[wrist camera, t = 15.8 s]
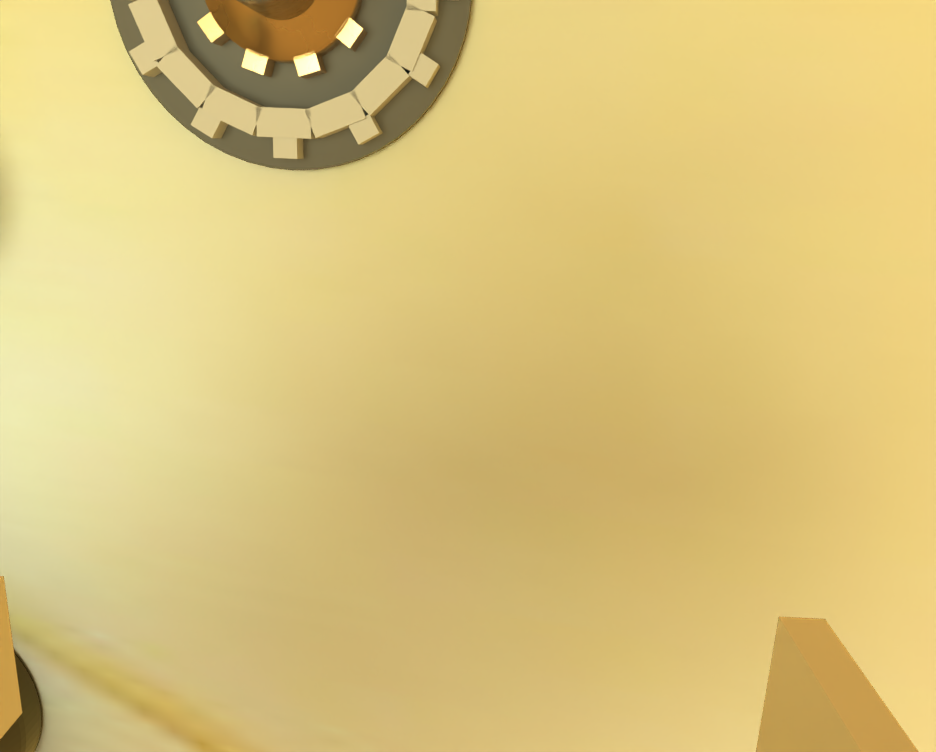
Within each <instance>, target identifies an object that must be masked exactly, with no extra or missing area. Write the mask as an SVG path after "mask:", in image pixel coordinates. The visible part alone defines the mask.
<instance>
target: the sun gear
mask: <svg viewBox="0 0 936 752" xmlns="http://www.w3.org/2000/svg"><path fill="white" fill-rule="evenodd" d="M205 2H206V5H207V7H208V9H209V11H210V12H209V13H208V14H207V15H206V16H204V17H203V18H202V19H201V20H199V21H198V24H199V25H200V27H201V28H202V30H203V31H204V33H205V34H206V35H207V37H208V38H209V40H210V41H211V43H214V44H217V45H219V46H223V45H224V44H225V43H227V42H228V41H229V40H230V39H231V40H232V41H233V42H235V43H236V44H237V45H239V46H240V47H241V48H243V49H245V50H246V52H245V56H244V60H243V63H242V67H244V68H246V69H249V70H252V71H254V72H257V73H259V74H262V75H265V76H268V77H272V73H273V70H274V66H275V63H276V62H279V63H288V64H291V63H295V65H296V68H297V71H298V75H299V77H302V78H305V79H308V78H311V77H314V76H317V75H321V74H324V73H326V69H325V66H324V63H323V59H322V56H323V55H325V54H327V53H328V52H330V51H331V50H333V49H334V48H335V47H336V46H338V45H339V44H340V43H341V42H343V43H344V44H345V45H346V46H348V47H349V48H350V49H351V50H353V51H354V52H355V51H356V49H357V48H358V46H359V45H360V44H361V42H362V41H363V39H364V38H365V36H366V35H367V34H368V33H367V32H366V31H365V30H364V29H363V28H361V27H360V26H359V25H358V24H357V23H355V21H356V19H357V17H358V14H359V11H360V8H361V4H362V0H205Z"/></svg>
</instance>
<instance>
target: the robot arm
mask: <svg viewBox="0 0 936 752" xmlns="http://www.w3.org/2000/svg"><path fill="white" fill-rule="evenodd" d="M40 732H41V708H40V702H39V698H38V694H37V691H36V689H35V686H34V684H33V681H32V679H31V677H30V675H29V674H28V672H27V670H26V669H25V667H24V665H23V664H22V663H21V661H20V660H19V659H18V657H17V656H16V655H15V654H14V649H13V641H12V634H11V627H10V619H9V612H8V605H7V597H6V590H5V583H4V576H0V752H34V751H35V749H36V746H37V744H38V740H39V737H40ZM756 752H918V750H917V749H916V747H915V746H914V745H913V743H912V742H911V740H910V739H909V737H908V736H907V735H906V733H905V732H904V730H903V729H902V728H901V726H900V725H899V723H898V722H897V720H896V719H895V718H894V716H893V715H892V713H891V712H890V711H889V709H888V708H887V706H886V705H885V703H884V702H883V701H882V699H881V698H880V696H879V695H878V694H877V692H876V691H875V689H874V688H873V686H872V685H871V684H870V682H869V681H868V679H867V678H866V677H865V675H864V674H863V672H862V671H861V669H860V668H859V667H858V665H857V664H856V662H855V661H854V660H853V658H852V657H851V655H850V654H849V652H848V651H847V650H846V648H845V647H844V645H843V644H842V643H841V641H840V640H839V638H838V637H837V635H836V634H835V633H834V631H833V630H832V628H831V627H830V626H829V624H828V623H827V621H826V620H825V619H814V618H795V617H779V619H778V625H777V631H776V637H775V642H774V648H773V654H772V660H771V666H770V672H769V678H768V684H767V689H766V695H765V701H764V707H763V713H762V719H761V725H760V730H759V736H758V742H757V748H756Z"/></svg>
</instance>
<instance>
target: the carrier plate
mask: <svg viewBox="0 0 936 752" xmlns="http://www.w3.org/2000/svg"><path fill="white" fill-rule="evenodd" d="M110 1H111V5H112V8H113V12H114V16H115V20H116V24H117V27H118V30H119V32H120V35H121V37H122V40H123V43H124V45H125V48H126V50H127V52H128V54H129V56H130V58H131V60H132V62H133V64H134V66H135V68H136V69H137V71H138V73H139V75H140V76H141V77H142V79H143V80H144V82H145V83H146V85H147V86H148V88H149V89H150V91H151V92H152V94H153V95H154V96H155V97H156V98H157V99H158V101H159V102H160V103H161V104H162V105H163V106H164V108H165V109H166V110H167V111H168V112H169V113H170V114H171V115H172V116H173V117H174V118H175V119H176V120H178V121H179V122H180V123H181V124H182V125H183V126H184V127H185V128H186V129H188V130H189V131H191V132H192V133H193V134H195V135H196V136H197V137H199V138H200V139H202V140H203V141H204V142H206V143H208V144H210V145H211V146H213V147H215V148H217V149H219V150H221V151H222V152H224V153H226V154H229V155H231V156H234V157H236V158H239V159H241V160H244V161H246V162H250V163H254V164H258V165H262V166H266V167H270V168H279V169H288V170H311V169H321V168H327V167H333V166H339V165H343V164H346V163H349V162H352V161H356V160H359V159H361V158H364V157H366V156H368V155H370V154H372V153H374V152H376V151H379V150H381V149H382V148H384V147H385V146H387V145H388V144H390V143H391V142H393V141H394V140H396V139H398V138H399V137H400V136H401V135H403V134H404V133H405V132H406V131H407V130H408V129H410V128H411V127H412V126H413V125H414V124H415V123H416V122H417V121H418V120H419V119H420V118H421V117H422V116H423V115H424V113H425V112H426V111H427V110H428V109H429V108H430V107H431V106H432V104H433V103H434V101H435V100H436V98H437V97H438V95H439V94H440V92H441V91H442V89H443V88H444V86H445V85H446V83H447V81H448V79H449V77H450V75H451V73H452V71H453V69H454V67H455V65H456V62H457V60H458V57H459V54H460V51H461V48H462V45H463V43H464V39H465V35H466V30H467V26H468V21H469V17H470V7H471V0H362V4H361V8H360V11H359V14H358V17H357V19H356V21H355V23H357V24H358V25H359V26H360V27H361V28H363V29H364V30H365V31H366V32H367V33H368V34H367V35H366V36H365V38H364V39H363V41H362V42H361V44H360V45H359V46H358V48H357V49H356V51H355V52H354V51H353V50H351V49H350V48H349V47H348V46H346V45H345V44H344V43H343V42H341V43H340V44H339V45H338V46H336V47H335V48H334V49H333V50H331V51H330V52H328V53H327V54H325V55H323V56H322V59H323V63H324V66H325V69H326V73H324V74H321V75H317V76H314V77H311V78H308V79H305V78H302V77H299V75H298V71H297V68H296V65H295V63H291V64H288V63H279V62H276V63H275V66H274V70H273V73H272V77H268V76H265V75H262V74H259V73H257V72H254V71H252V70H249V69H246V68H244V67H242V63H243V60H244V56H245V52H246V50H245V49H243V48H241V47H240V46H239V45H237V44H236V43H235V42H233V41H232V40H231V39H230V40H229V41H228V42H227V43H225V44H224V45H223V46H219V45H217V44H214V43H211V41H210V40H209V38H208V37H207V35H206V34H205V33H204V31H203V30H202V28H201V27H200V25H199V24H198V21H199V20H201V19H202V18H203V17H204V16H206V15H207V14H208V13H209V12H210V11H209V9H208V7H207V5H206V2H205V0H110Z"/></svg>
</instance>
